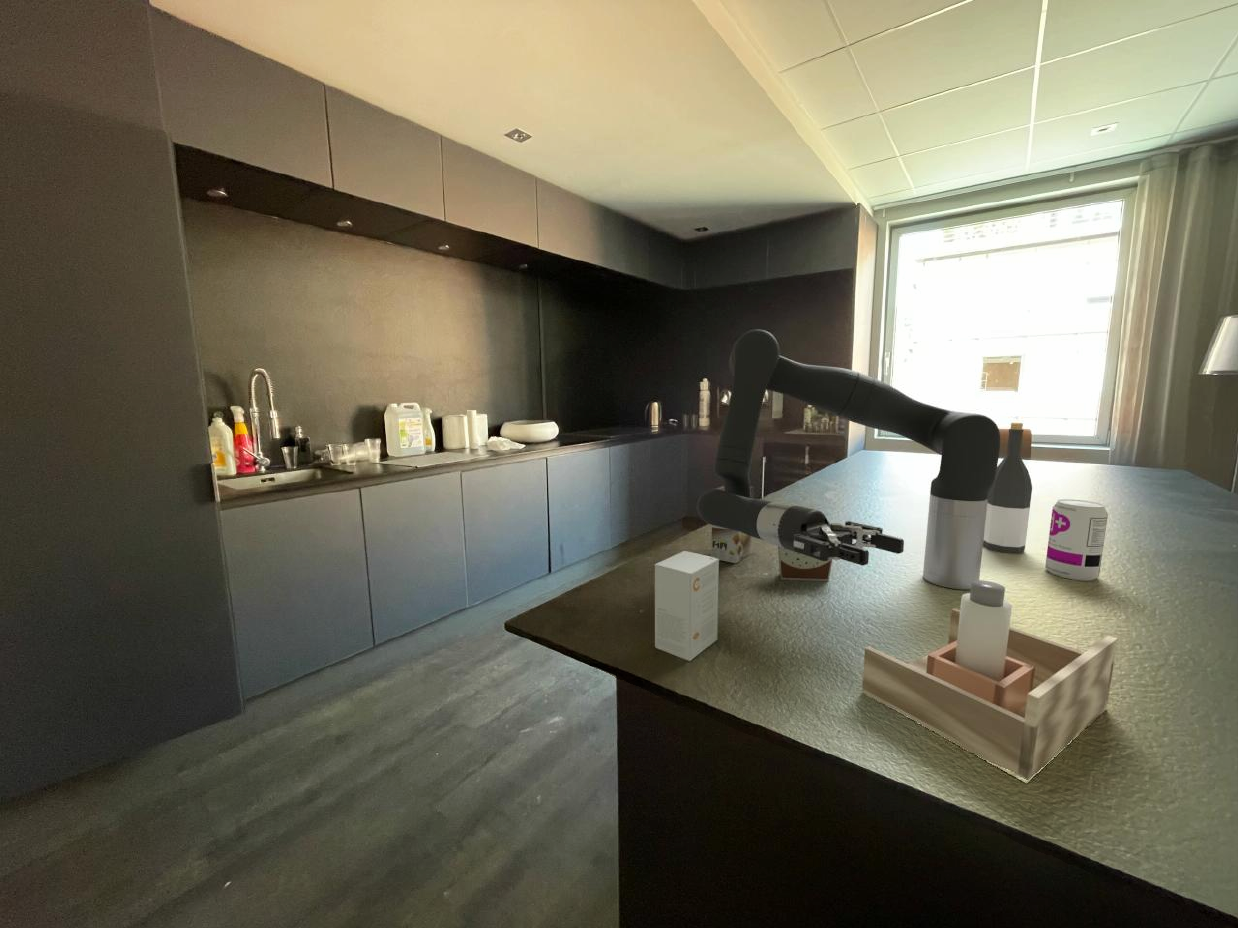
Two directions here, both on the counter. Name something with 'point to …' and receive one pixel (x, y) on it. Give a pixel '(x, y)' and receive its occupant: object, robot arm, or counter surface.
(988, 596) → the white plastic bottle
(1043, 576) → the counter surface
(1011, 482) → the wine bottle
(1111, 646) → the wooden tray
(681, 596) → the small box
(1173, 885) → the counter surface
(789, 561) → the food container
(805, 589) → the counter surface
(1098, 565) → the supplement can
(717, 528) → the coffee box
